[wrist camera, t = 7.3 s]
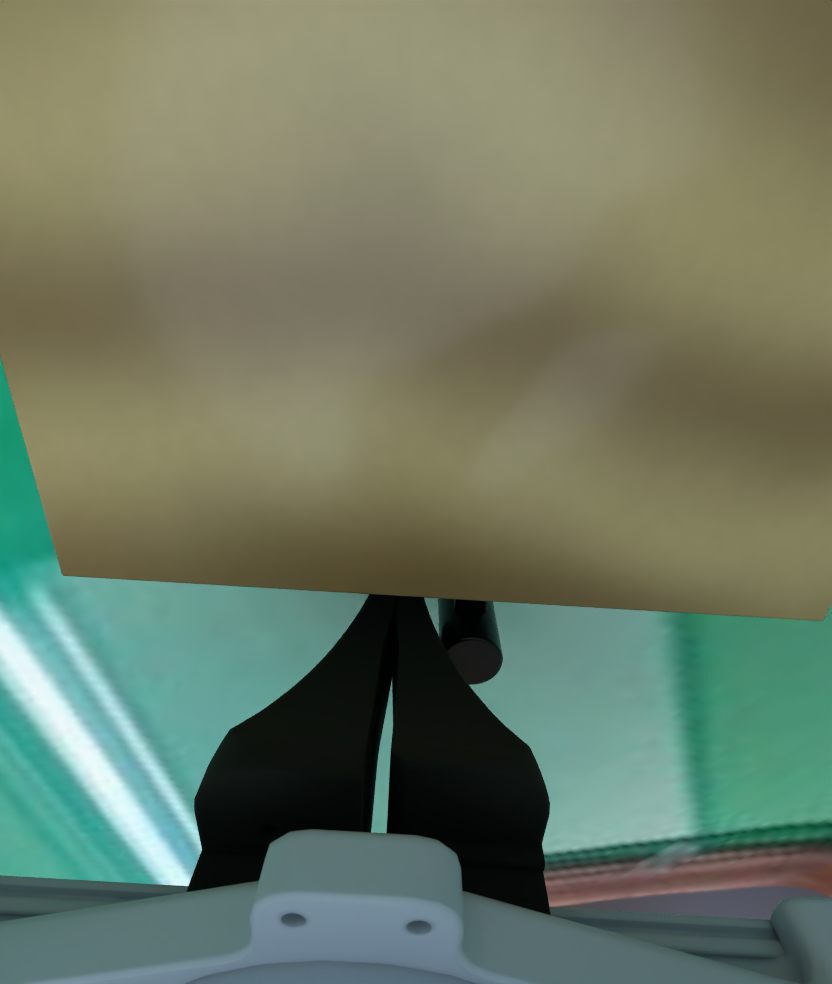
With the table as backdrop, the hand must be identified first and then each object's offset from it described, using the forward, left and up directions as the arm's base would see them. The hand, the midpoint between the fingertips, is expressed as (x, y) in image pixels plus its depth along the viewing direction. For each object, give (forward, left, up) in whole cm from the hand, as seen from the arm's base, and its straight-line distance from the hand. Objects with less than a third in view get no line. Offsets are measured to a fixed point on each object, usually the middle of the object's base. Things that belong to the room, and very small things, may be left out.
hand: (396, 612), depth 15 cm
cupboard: (-1, -9, -3) cm, 9 cm away
